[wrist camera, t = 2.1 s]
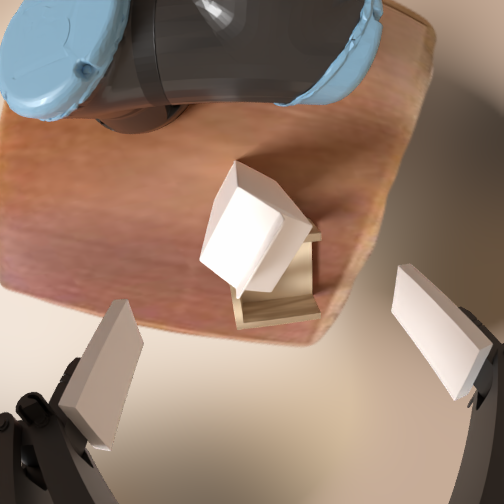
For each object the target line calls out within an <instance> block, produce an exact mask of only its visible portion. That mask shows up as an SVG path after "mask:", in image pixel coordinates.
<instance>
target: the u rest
mask: <svg viewBox="0 0 504 504" xmlns="http://www.w3.org/2000/svg"><path fill="white" fill-rule="evenodd" d="M307 219H308V221H309V222H310V223H311V224H312V226H313V227H312V229H311V231H310V232H309V234H308V235H307V237H306V239H305V240H304V242H303V243H302V245H301V247H300V248H299V250H298V251H297V253H296V255H295V256H294V258H293V259H292V261H291V262H290V264H289V266H288V267H287V269H286V270H285V272H284V273H283V275H282V277H281V278H280V280H279V281H278V283H277V284H276V286H275V287H274V289H273V290H272V292H260V291H250V290H244V292H243V293H242V295H241V297H240V298H239V299H237V298H236V288H234V287H233V286H232V285H231V284H230V289H231V296H232V302H233V308H234V314H235V320H236V326H237V330H240V329H249V328H257V327H265V326H273V325H281V324H288V323H295V322H302V321H308V320H315V319H321V312H320V310H319V308H318V306H317V303H316V301H315V299H314V297H313V294H312V242H314V241H321V232H320V231H319V230H318V228H317V227H316V226H315V225H314V223H313V222H312V221H311V220H310V219H309V218H307Z"/></svg>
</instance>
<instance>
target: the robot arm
mask: <svg viewBox="0 0 504 504" xmlns="http://www.w3.org/2000/svg"><path fill="white" fill-rule="evenodd" d="M382 14H383V5H382V0H24V1H23V2H22V4H21V6H20V7H19V9H18V11H17V12H16V13H15V15H14V16H13V17H12V19H11V21H10V23H9V25H8V27H7V29H6V32H5V34H4V37H3V40H2V43H1V46H0V92H1V94H2V96H3V98H4V100H6V101H7V103H8V104H9V107H10V108H11V109H12V110H13V111H14V112H16V113H17V114H19V115H21V116H24V117H28V118H38V119H40V120H41V121H48V122H50V121H57V120H59V119H68V118H86V119H96V120H97V121H98V122H99V123H100V124H101V125H103V126H104V127H106V128H108V129H110V130H112V131H115V132H119V133H124V134H141V133H147V132H151V131H155V130H157V129H160V128H162V127H164V126H166V125H167V124H169V123H171V122H172V121H173V120H175V119H176V118H177V117H178V116H179V115H180V114H181V113H182V112H183V111H184V110H185V109H186V107H187V106H188V105H189V104H195V103H220V102H262V103H274V104H275V105H278V106H290V105H296V104H308V105H327V104H330V103H335V102H337V101H340V100H342V99H343V98H345V97H346V96H348V95H349V94H350V93H351V92H352V91H353V90H354V89H355V88H356V87H357V86H358V85H359V84H360V83H361V81H362V80H363V78H364V77H365V75H366V74H367V72H368V70H369V69H370V67H371V65H372V63H373V61H374V58H375V56H376V53H377V50H378V47H379V44H380V40H381V35H382V29H383V26H382V24H381V23H380V22H379V19H380V17H381V16H382ZM392 313H393V315H394V316H395V317H396V318H397V320H398V321H399V322H400V324H401V325H402V326H403V328H404V329H405V330H406V332H407V333H408V335H409V336H410V337H411V339H412V340H413V341H414V343H415V344H416V346H417V347H418V348H419V350H420V351H421V353H422V354H423V355H424V357H425V358H426V360H427V361H428V363H429V364H430V365H431V367H432V368H433V370H434V371H435V373H436V374H437V376H438V377H439V378H440V380H441V382H442V383H443V385H444V386H445V388H446V389H447V390H448V392H449V394H450V395H451V397H452V398H453V400H454V401H455V400H457V399H459V398H462V397H464V396H466V395H467V394H468V393H469V391H470V389H471V387H472V386H473V385H474V386H475V387H476V389H477V390H476V392H475V393H474V395H473V397H472V399H471V400H470V402H469V404H468V406H467V407H468V408H469V407H470V406H471V404H472V403H473V407H472V414H471V420H470V426H469V431H468V436H467V441H466V446H465V450H464V454H463V458H462V463H461V466H460V470H459V473H458V477H457V480H456V483H455V486H454V490H453V492H452V496H451V498H450V501H449V504H504V343H503V344H501V343H500V342H499V341H498V340H497V339H496V338H495V336H494V335H493V334H492V333H491V332H490V331H489V330H488V329H487V328H486V327H485V326H484V325H482V323H481V322H480V321H479V320H477V318H476V317H475V316H474V315H473V314H472V313H471V312H470V311H468V310H466V309H464V308H462V307H457V306H456V305H455V304H454V303H453V302H452V301H451V300H450V299H449V298H448V297H447V296H446V295H444V294H443V293H442V292H441V291H440V290H439V289H438V288H437V287H436V286H435V285H434V284H433V283H432V282H431V281H429V280H428V279H427V278H426V277H425V276H424V275H423V274H422V273H421V272H420V271H418V270H417V269H416V268H415V267H414V266H413V265H412V264H405V265H399V266H398V272H397V279H396V286H395V292H394V300H393V305H392ZM143 345H144V342H143V340H142V337H141V335H140V332H139V329H138V327H137V324H136V321H135V318H134V316H133V313H132V310H131V307H130V304H129V301H128V299H119V300H114V301H113V302H112V304H111V306H110V307H109V309H108V311H107V312H106V314H105V316H104V317H103V319H102V321H101V323H100V324H99V326H98V328H97V330H96V332H95V333H94V335H93V337H92V339H91V341H90V343H89V344H88V346H87V348H86V350H85V352H84V354H83V355H82V357H81V358H75V359H74V360H73V361H72V362H71V363H70V364H69V365H68V366H67V368H66V370H65V372H64V376H62V378H61V380H60V383H59V384H58V385H57V387H56V389H55V392H54V393H53V395H52V397H51V399H50V401H49V404H48V403H47V402H46V400H45V399H44V398H43V397H42V395H41V394H39V393H37V392H31V393H27V394H26V395H24V396H23V397H21V399H20V400H19V401H18V403H17V405H16V413H17V414H18V415H19V416H20V417H21V418H22V420H19V421H17V420H16V419H15V418H14V417H13V416H12V414H10V413H8V412H4V413H1V414H0V504H118V502H117V500H116V499H115V497H114V496H113V494H112V492H111V491H110V489H109V488H108V486H107V484H106V482H105V481H104V479H103V477H102V475H101V474H100V472H99V470H98V468H97V467H96V465H95V463H94V461H93V459H92V457H91V455H90V453H89V451H88V450H87V449H86V448H85V447H86V444H87V441H88V442H89V443H90V444H91V445H92V446H93V447H94V448H95V449H101V450H108V451H111V450H112V446H113V442H114V439H115V435H116V431H117V428H118V424H119V421H120V417H121V414H122V410H123V406H124V403H125V400H126V397H127V394H128V390H129V387H130V384H131V381H132V378H133V375H134V371H135V368H136V365H137V362H138V359H139V356H140V353H141V350H142V348H143ZM21 461H22V466H21Z"/></svg>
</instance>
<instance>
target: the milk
mask: <svg viewBox="0 0 504 504" xmlns="http://www.w3.org/2000/svg"><path fill="white" fill-rule="evenodd" d="M312 227H313V226H312V224H311V223H310V222H309V221H308V219H307V218H306V217H305V216H304V214H303V213H302V212H301V211H300V209H299V208H298V207H297V206H296V205H295V203H294V202H293V201H292V200H291V198H290V197H289V196H288V195H287V194H286V192H285V191H284V190H283V189H282V188H281V187H280V185H279V184H278V183H277V182H276V181H275V180H273V179H271V178H270V177H268V176H266V175H264V174H262V173H260V172H258V171H256V170H254V169H253V168H251V167H249V166H247V165H245V164H243V163H241V162H239V161H237V160H235V161H234V163H233V165H232V167H231V169H230V171H229V173H228V175H227V176H226V178H225V180H224V182H223V184H222V186H221V188H220V190H219V192H218V194H217V195H216V197H215V199H214V203H213V207H212V211H211V215H210V219H209V223H208V227H207V231H206V235H205V239H204V243H203V247H202V251H201V255H200V261H201V262H202V263H203V264H205V265H206V266H207V267H208V268H210V269H211V270H212V271H214V272H215V273H216V274H217V275H219V276H220V277H221V278H223V279H224V280H225V281H227V282H228V283H229V284H231V285H232V286H233V287H234V288H236V298H237V299H239V298H240V297H241V295H242V293H243V292H244V290H250V291H260V292H272V290H273V289H274V287H275V286H276V284H277V283H278V281H279V280H280V278H281V277H282V275H283V273H284V272H285V270H286V269H287V267H288V266H289V264H290V262H291V261H292V259H293V258H294V256H295V255H296V253H297V251H298V250H299V248H300V247H301V245H302V243H303V242H304V240H305V239H306V237H307V235H308V234H309V232H310V231H311V229H312Z"/></svg>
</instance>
